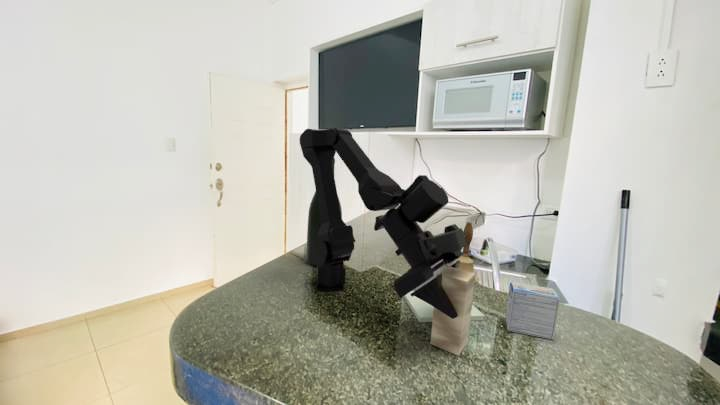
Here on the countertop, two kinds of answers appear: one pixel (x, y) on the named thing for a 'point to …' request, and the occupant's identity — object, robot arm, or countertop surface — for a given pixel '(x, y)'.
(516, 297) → the medicine box
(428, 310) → the sage board
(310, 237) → the beer bottle
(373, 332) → the countertop surface
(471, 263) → the hand bell
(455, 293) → the birch block
